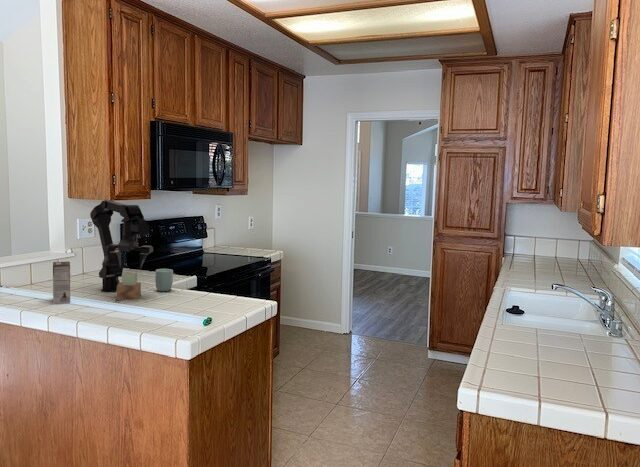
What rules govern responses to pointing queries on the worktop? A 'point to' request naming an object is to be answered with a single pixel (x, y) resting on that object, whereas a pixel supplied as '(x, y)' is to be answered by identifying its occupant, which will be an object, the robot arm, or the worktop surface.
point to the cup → (164, 279)
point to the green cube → (129, 278)
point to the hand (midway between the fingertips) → (130, 267)
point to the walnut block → (128, 291)
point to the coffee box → (61, 282)
